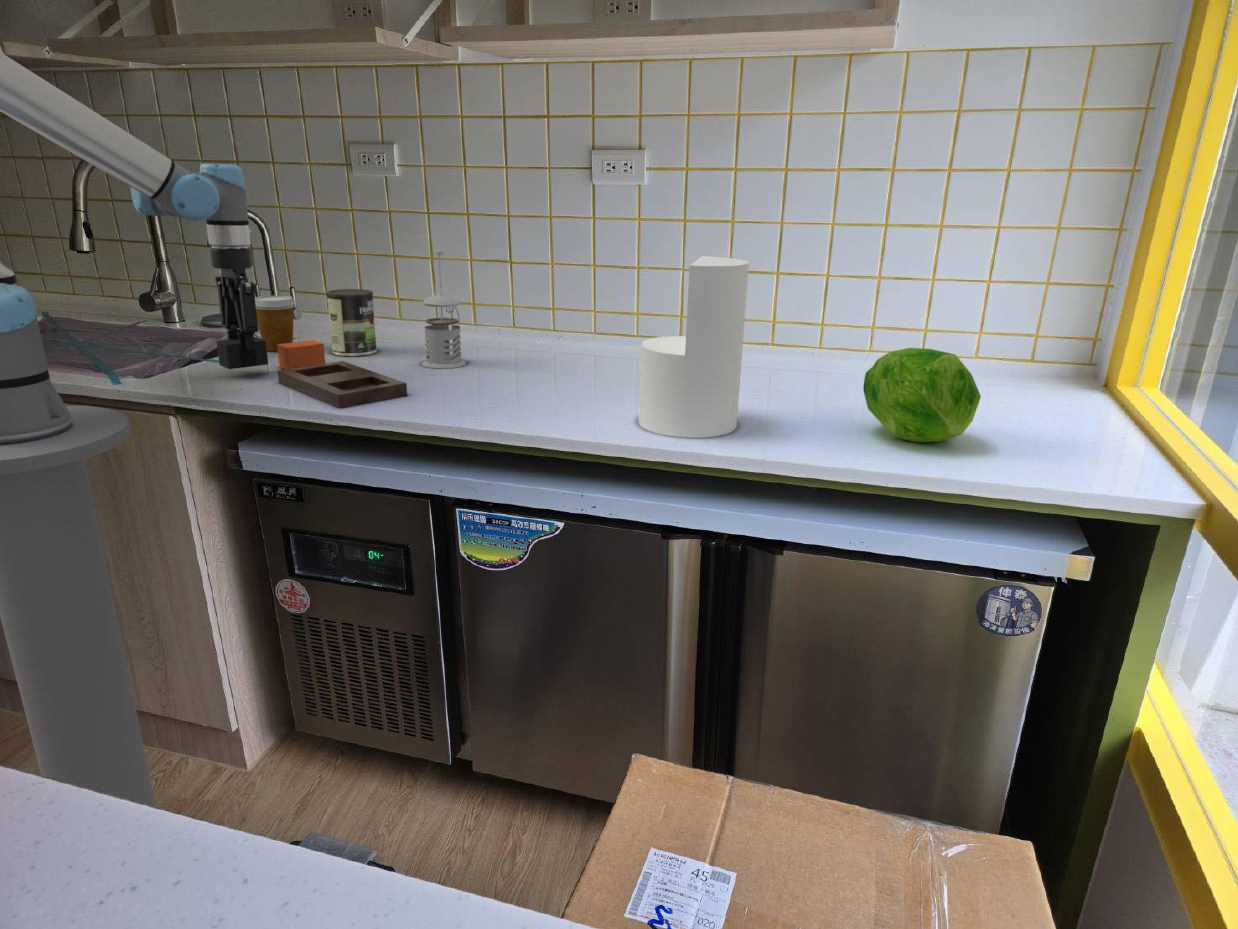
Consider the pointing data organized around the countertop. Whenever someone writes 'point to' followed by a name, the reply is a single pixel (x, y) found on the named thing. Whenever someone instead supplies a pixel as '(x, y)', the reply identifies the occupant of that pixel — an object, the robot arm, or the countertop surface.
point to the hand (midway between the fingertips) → (243, 363)
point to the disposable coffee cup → (275, 320)
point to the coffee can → (351, 322)
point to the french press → (442, 333)
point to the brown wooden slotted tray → (342, 384)
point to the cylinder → (698, 357)
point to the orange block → (301, 354)
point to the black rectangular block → (232, 355)
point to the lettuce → (921, 394)
